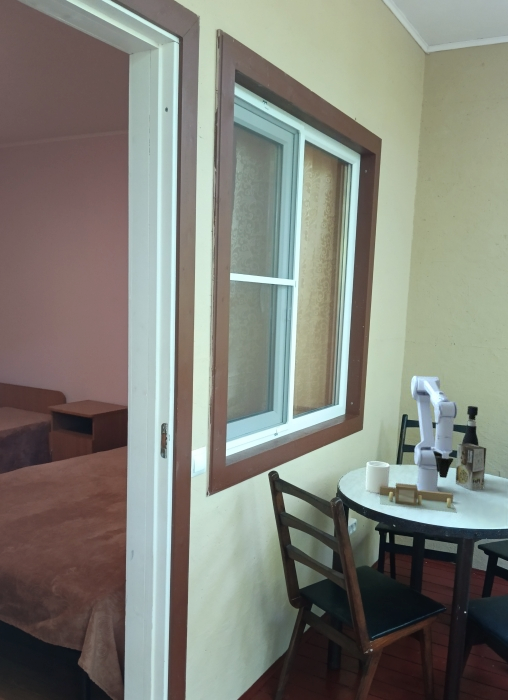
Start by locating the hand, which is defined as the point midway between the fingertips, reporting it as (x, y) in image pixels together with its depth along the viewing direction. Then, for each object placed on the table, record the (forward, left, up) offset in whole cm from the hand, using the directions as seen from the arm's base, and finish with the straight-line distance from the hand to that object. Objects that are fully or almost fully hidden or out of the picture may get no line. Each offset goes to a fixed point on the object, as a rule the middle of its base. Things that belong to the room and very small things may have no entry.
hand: (441, 474), depth 196 cm
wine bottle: (-36, +15, -11) cm, 41 cm away
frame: (+5, -12, -10) cm, 16 cm away
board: (+4, -8, -10) cm, 14 cm away
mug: (-8, -21, -11) cm, 25 cm away
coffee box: (-26, +14, -11) cm, 32 cm away
